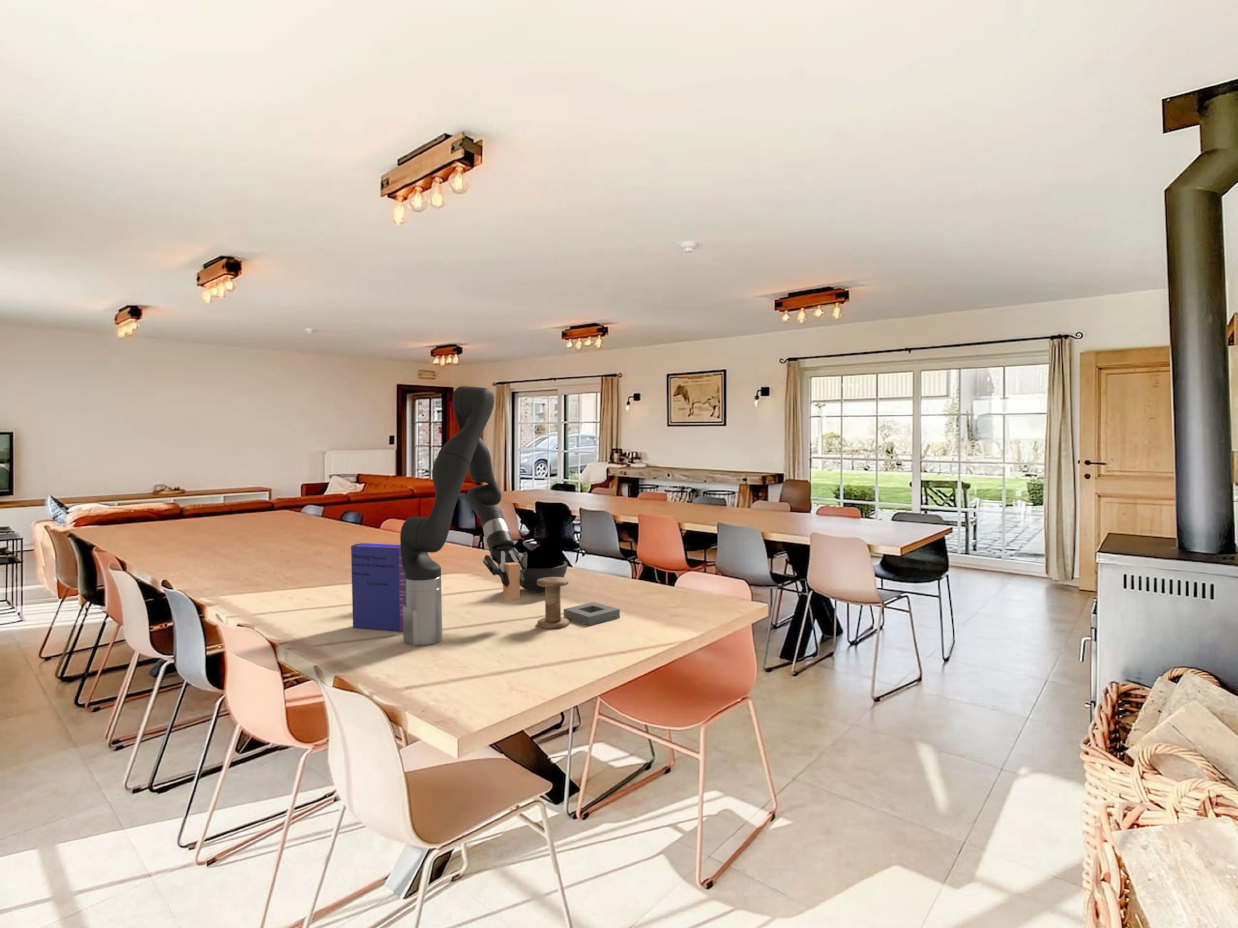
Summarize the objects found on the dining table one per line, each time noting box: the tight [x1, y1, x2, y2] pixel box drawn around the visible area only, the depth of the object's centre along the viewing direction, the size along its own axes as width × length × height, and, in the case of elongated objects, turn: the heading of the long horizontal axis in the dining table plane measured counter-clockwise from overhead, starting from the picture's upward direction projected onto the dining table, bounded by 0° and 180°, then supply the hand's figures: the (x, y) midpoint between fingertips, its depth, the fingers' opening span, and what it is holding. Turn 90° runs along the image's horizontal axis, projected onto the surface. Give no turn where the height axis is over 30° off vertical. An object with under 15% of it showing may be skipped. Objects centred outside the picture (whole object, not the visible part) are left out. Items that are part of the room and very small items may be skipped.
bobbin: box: [537, 577, 570, 630], centre depth 188 cm, size 9×9×13 cm
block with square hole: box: [563, 601, 621, 626], centre depth 195 cm, size 12×12×2 cm
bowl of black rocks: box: [514, 537, 568, 593], centre depth 228 cm, size 20×20×19 cm
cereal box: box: [350, 542, 406, 633], centre depth 185 cm, size 17×5×24 cm, turn 74°
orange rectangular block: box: [502, 562, 521, 601], centre depth 187 cm, size 4×4×10 cm
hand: (514, 584), depth 185 cm, fingers closed on orange rectangular block, 3 cm apart
